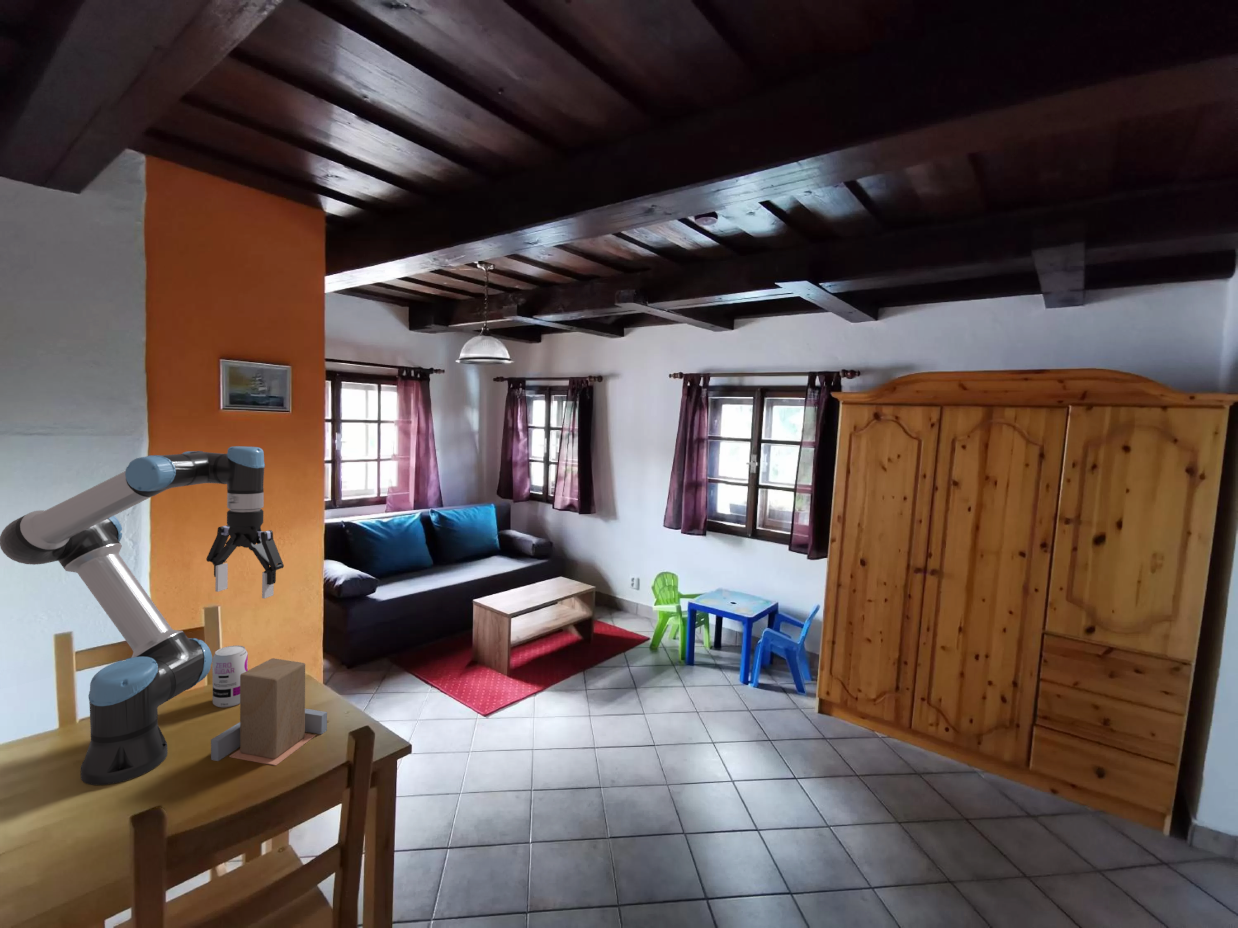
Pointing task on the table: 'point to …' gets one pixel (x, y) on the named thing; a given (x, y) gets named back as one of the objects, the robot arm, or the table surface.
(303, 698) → the wooden block
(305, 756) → the table surface
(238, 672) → the supplement can
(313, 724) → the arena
